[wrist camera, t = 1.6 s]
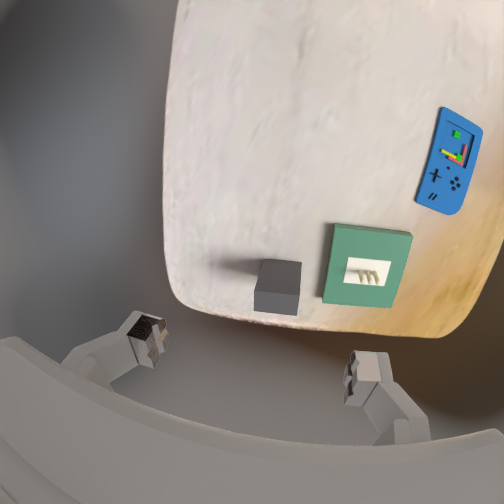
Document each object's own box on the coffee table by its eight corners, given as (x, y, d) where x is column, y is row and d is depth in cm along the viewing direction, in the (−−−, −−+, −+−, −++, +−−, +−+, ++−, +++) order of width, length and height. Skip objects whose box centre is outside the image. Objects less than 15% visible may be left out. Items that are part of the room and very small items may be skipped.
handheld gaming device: (416, 203, 33) (443, 105, 26) (413, 200, 34) (440, 105, 27) (457, 220, 32) (484, 130, 25) (454, 217, 33) (481, 129, 26)
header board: (334, 223, 38) (337, 235, 34) (409, 232, 36) (419, 245, 32) (322, 297, 44) (322, 314, 40) (389, 302, 42) (394, 319, 38)
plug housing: (263, 258, 43) (254, 290, 35) (301, 262, 42) (299, 295, 34) (263, 277, 44) (253, 310, 37) (299, 280, 43) (296, 315, 36)
